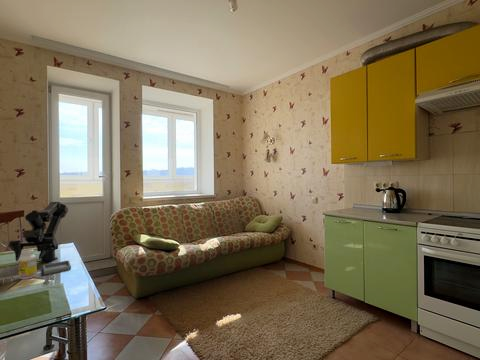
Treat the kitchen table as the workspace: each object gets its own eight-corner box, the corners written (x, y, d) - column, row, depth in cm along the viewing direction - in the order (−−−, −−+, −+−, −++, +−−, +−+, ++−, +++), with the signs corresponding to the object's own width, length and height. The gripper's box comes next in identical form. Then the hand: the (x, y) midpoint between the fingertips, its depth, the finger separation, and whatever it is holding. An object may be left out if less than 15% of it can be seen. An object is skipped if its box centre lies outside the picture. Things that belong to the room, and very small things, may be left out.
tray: (43, 268, 138) (43, 264, 138) (68, 263, 145) (68, 260, 145) (44, 274, 129) (43, 271, 129) (71, 269, 136) (70, 266, 136)
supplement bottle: (16, 278, 125) (15, 251, 125) (32, 273, 131) (31, 247, 131) (23, 280, 122) (22, 253, 122) (39, 275, 128) (38, 249, 128)
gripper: (9, 224, 129) (-4, 253, 119) (53, 222, 134) (45, 249, 124) (18, 236, 137) (7, 264, 126) (59, 233, 142) (52, 260, 132)
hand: (28, 259), depth 127 cm, fingers open, 9 cm apart
